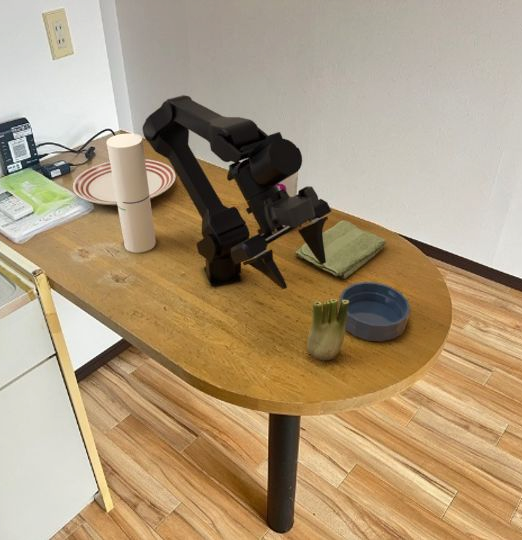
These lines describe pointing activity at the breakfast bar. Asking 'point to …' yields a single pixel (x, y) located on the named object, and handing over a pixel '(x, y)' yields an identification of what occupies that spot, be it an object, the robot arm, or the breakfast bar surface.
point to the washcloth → (344, 249)
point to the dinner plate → (102, 186)
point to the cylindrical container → (132, 191)
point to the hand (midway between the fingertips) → (304, 275)
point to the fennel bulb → (327, 329)
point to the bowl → (375, 311)
